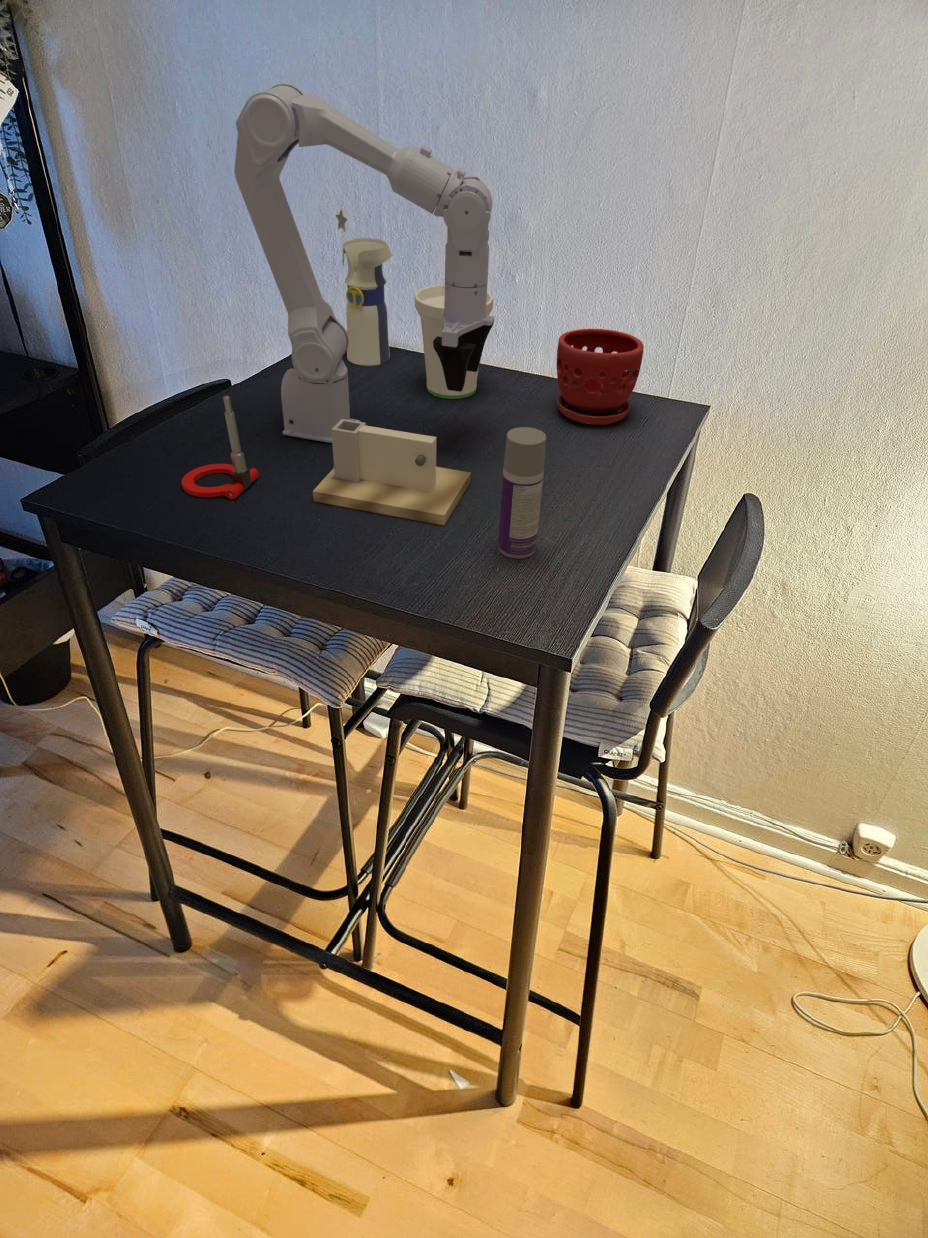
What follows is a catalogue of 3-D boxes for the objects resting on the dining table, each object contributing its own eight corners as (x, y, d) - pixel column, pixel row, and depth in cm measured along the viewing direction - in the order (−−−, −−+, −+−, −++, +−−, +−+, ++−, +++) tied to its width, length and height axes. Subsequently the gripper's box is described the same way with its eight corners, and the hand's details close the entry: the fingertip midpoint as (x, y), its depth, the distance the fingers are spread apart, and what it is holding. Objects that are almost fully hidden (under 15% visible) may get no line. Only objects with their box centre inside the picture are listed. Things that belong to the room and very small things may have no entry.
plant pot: (649, 419, 134) (662, 345, 126) (587, 437, 128) (597, 360, 120) (595, 390, 142) (605, 319, 135) (534, 406, 136) (541, 333, 129)
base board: (313, 501, 110) (310, 469, 107) (349, 461, 119) (347, 430, 116) (444, 525, 106) (444, 492, 103) (470, 482, 115) (471, 451, 112)
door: (334, 477, 112) (331, 429, 108) (344, 466, 114) (341, 418, 110) (429, 494, 109) (430, 445, 105) (437, 482, 112) (438, 434, 107)
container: (495, 538, 104) (503, 426, 95) (532, 537, 105) (543, 426, 95) (500, 559, 100) (508, 445, 91) (538, 558, 101) (550, 444, 92)
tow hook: (171, 495, 111) (233, 504, 108) (148, 402, 103) (214, 410, 101) (204, 467, 117) (263, 475, 115) (184, 378, 109) (248, 384, 107)
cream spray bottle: (376, 370, 146) (371, 214, 130) (336, 359, 149) (326, 207, 134) (401, 355, 152) (399, 205, 136) (362, 346, 155) (356, 198, 139)
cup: (488, 405, 136) (494, 310, 126) (412, 402, 136) (411, 306, 126) (488, 376, 145) (493, 285, 136) (416, 373, 145) (416, 282, 136)
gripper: (480, 301, 105) (475, 403, 113) (508, 270, 116) (502, 365, 124) (427, 294, 106) (426, 395, 115) (459, 264, 117) (457, 359, 126)
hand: (462, 379), depth 120 cm, fingers open, 7 cm apart
